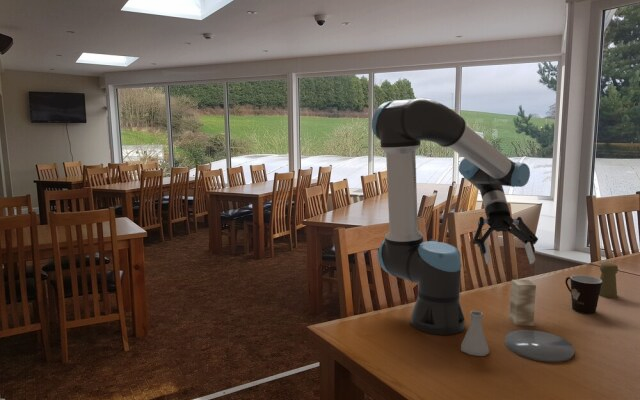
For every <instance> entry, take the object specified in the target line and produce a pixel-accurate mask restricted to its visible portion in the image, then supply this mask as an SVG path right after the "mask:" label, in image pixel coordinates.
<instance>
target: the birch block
mask: <svg viewBox="0 0 640 400" xmlns="http://www.w3.org/2000/svg"><path fill="white" fill-rule="evenodd" d="M510 286H511V287H510V302H509V320H510V321H511V322H512V323H513V324H514V325H515V326H534V324H535V323H534V322H535V311H536V309H535V308H536V295H537V294H536V291H537V284H535V283H533V282H532V281H531V280H530V279H511V284H510Z"/></svg>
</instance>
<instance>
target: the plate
mask: <svg viewBox="0 0 640 400" xmlns="http://www.w3.org/2000/svg"><path fill="white" fill-rule="evenodd" d="M504 341H505V343H504V344H505V345H506V347H507V348H508V349H509V350H510V351H511V352H513V353H515V354H516V355H518V356H521V357H524V358H527V359H529V360H533V361H539V362H546V363H561V362H566V361H567V362H568V361H569V360H571V359H573V357H574V354H575V347H574V345H573V344H572V343H571V342H570V341H568V340H567V339H565V338H563V337H561V336H558V335H555V334H553V333H551V332H550V333H548V332H545V331H540V330H534V329H533V330H532V329H531V330H530V329H519V330H514V331H513V330H512V331H511V332H508V333H507V334H506V336H505V340H504Z"/></svg>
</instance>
